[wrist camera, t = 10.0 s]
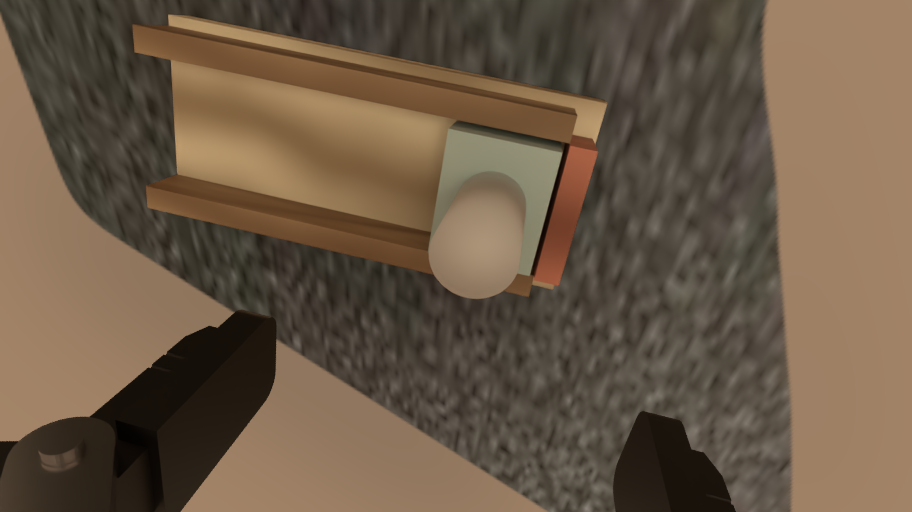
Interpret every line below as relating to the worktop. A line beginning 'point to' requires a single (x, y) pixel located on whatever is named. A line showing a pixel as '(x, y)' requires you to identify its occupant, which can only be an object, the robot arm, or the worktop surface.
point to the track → (346, 141)
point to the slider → (490, 207)
